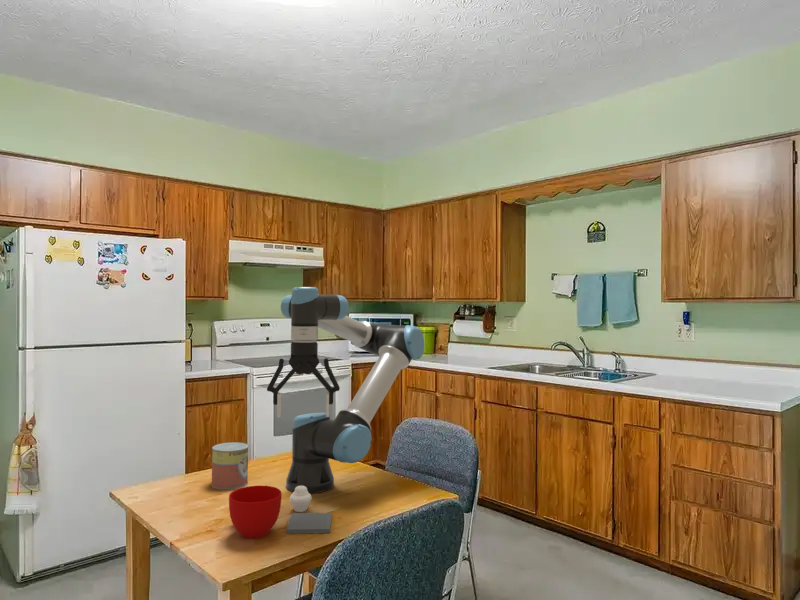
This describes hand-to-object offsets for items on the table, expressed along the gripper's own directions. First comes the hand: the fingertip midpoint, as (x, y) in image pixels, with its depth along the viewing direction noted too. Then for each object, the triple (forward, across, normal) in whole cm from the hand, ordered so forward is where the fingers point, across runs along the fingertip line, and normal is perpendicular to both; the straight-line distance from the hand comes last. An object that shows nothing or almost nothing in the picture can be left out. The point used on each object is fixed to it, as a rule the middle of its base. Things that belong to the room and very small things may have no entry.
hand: (303, 416), depth 155 cm
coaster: (+26, +3, -11) cm, 29 cm away
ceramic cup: (+27, -12, -14) cm, 32 cm away
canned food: (+27, -25, +24) cm, 44 cm away
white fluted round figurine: (+27, 0, 0) cm, 27 cm away
